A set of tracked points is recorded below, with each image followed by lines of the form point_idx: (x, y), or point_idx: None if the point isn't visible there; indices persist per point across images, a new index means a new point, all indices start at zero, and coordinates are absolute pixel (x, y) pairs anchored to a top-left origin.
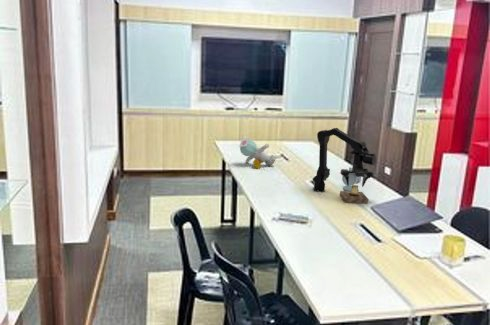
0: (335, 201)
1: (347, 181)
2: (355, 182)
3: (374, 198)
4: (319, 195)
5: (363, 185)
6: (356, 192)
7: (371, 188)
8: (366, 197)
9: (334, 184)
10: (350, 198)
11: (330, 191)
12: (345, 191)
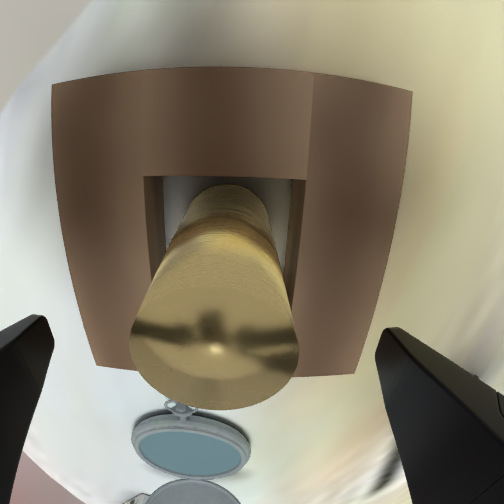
0: (462, 145)
1: (488, 394)
2: (146, 499)
3: (9, 278)
4: (500, 303)
5: (13, 328)
6: (191, 227)
7: (58, 444)
8: (59, 149)
9: (275, 489)
10: (336, 77)
11: (372, 405)
12: (300, 364)
